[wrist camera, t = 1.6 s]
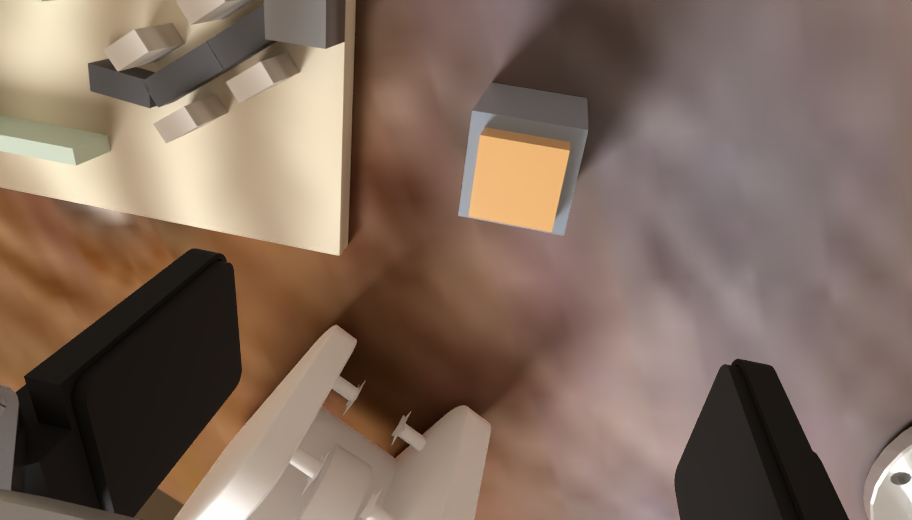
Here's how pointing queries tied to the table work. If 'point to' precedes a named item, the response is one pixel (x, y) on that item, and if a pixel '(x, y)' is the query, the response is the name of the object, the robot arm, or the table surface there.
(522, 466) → the table surface
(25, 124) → the bracket
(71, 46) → the board
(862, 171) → the table surface
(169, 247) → the table surface
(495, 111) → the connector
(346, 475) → the cable organizer
